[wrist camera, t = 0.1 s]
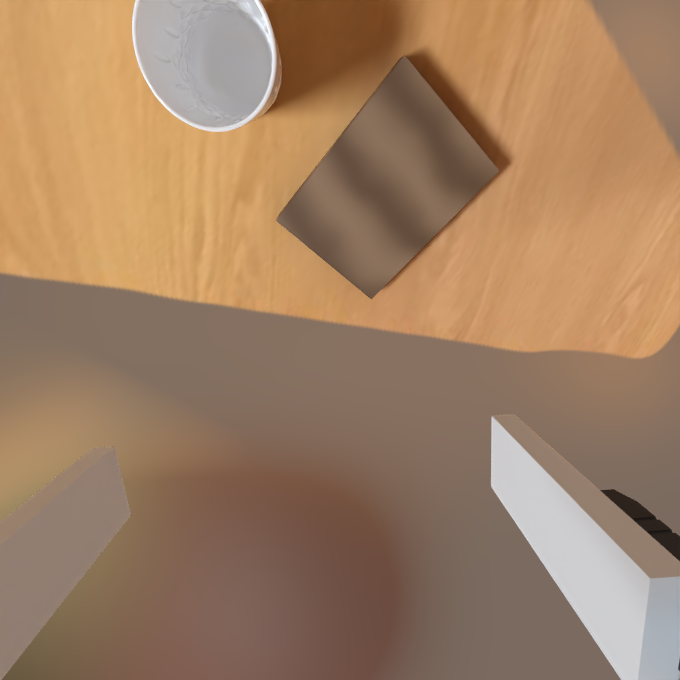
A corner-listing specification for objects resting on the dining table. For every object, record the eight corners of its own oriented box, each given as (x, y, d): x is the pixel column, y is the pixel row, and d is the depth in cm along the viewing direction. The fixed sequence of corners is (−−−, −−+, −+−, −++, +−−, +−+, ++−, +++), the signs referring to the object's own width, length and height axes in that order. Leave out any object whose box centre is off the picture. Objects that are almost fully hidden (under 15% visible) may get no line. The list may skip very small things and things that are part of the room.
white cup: (237, -26, 27) (197, -92, 18) (310, 79, 30) (305, 65, 21) (166, 60, 29) (101, 36, 20) (241, 148, 32) (212, 160, 24)
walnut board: (399, 58, 29) (404, 55, 28) (490, 168, 34) (499, 170, 32) (278, 215, 35) (276, 220, 34) (369, 291, 40) (371, 299, 38)
